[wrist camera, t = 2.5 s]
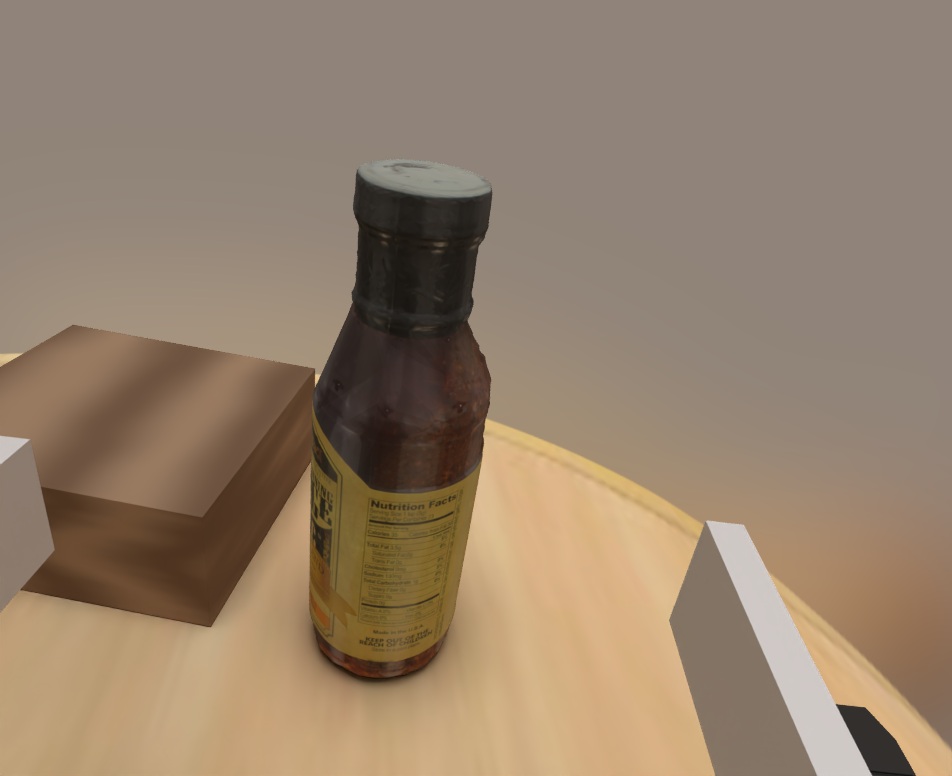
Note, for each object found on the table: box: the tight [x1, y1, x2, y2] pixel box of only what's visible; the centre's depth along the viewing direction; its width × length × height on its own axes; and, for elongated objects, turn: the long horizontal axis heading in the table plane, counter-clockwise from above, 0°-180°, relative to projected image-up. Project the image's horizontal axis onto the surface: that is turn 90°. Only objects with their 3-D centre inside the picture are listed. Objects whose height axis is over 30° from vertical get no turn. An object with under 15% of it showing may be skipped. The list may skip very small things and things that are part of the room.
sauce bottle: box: [309, 159, 492, 678], centre depth 24 cm, size 6×6×20 cm
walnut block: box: [0, 325, 315, 627], centre depth 33 cm, size 14×13×6 cm
